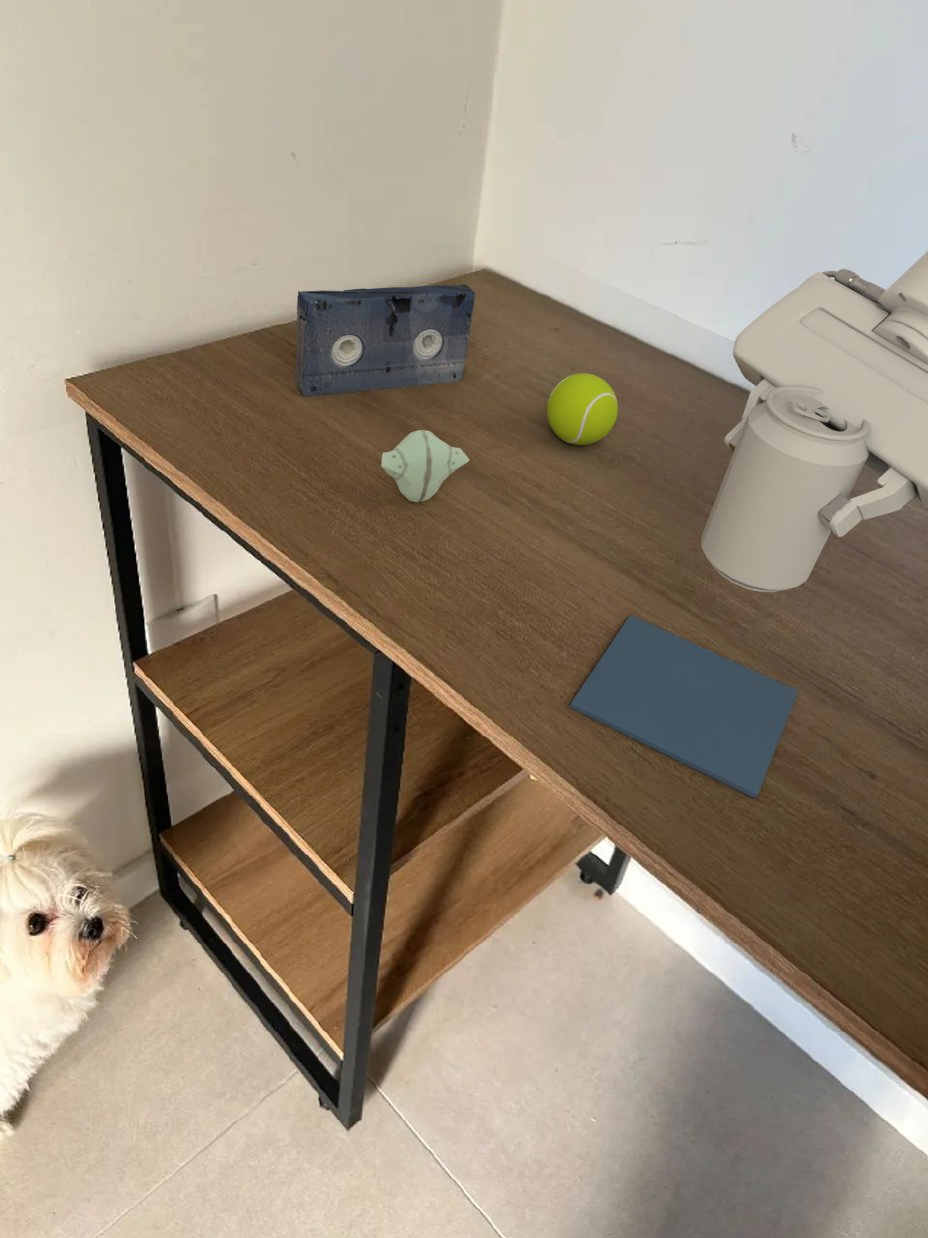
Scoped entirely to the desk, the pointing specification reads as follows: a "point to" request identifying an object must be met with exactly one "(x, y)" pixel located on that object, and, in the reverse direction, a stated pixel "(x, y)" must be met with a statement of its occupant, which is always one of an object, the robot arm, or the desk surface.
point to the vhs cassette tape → (381, 338)
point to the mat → (688, 704)
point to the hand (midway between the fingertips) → (778, 487)
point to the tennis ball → (582, 409)
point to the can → (781, 491)
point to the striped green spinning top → (422, 464)
